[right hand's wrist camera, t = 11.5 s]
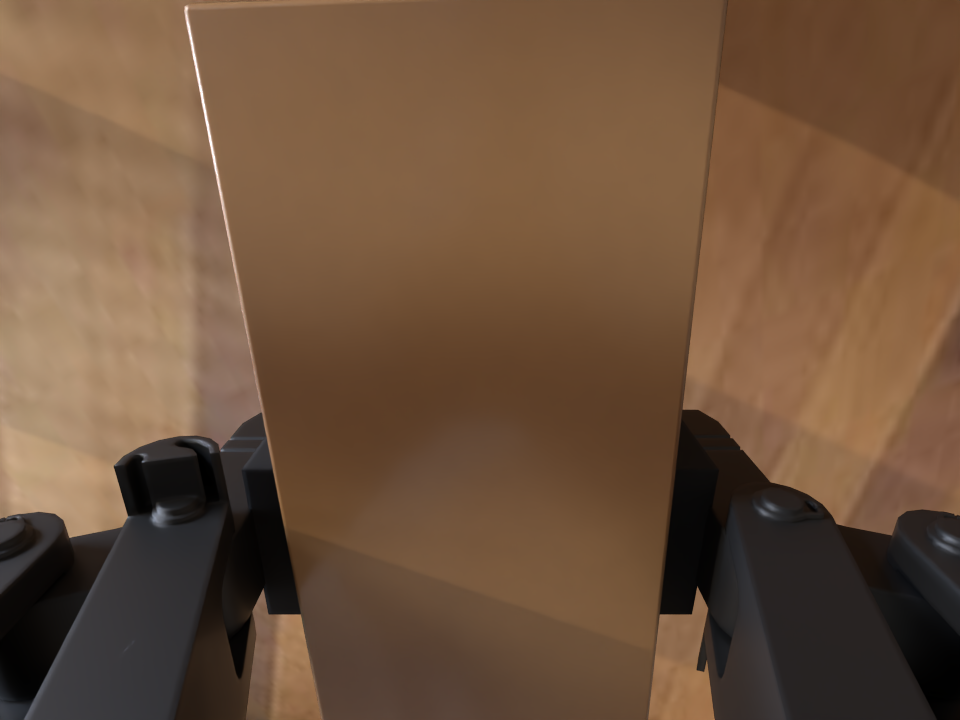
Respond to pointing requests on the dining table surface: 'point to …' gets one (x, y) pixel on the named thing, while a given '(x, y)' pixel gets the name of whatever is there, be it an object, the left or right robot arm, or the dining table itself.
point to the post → (468, 329)
